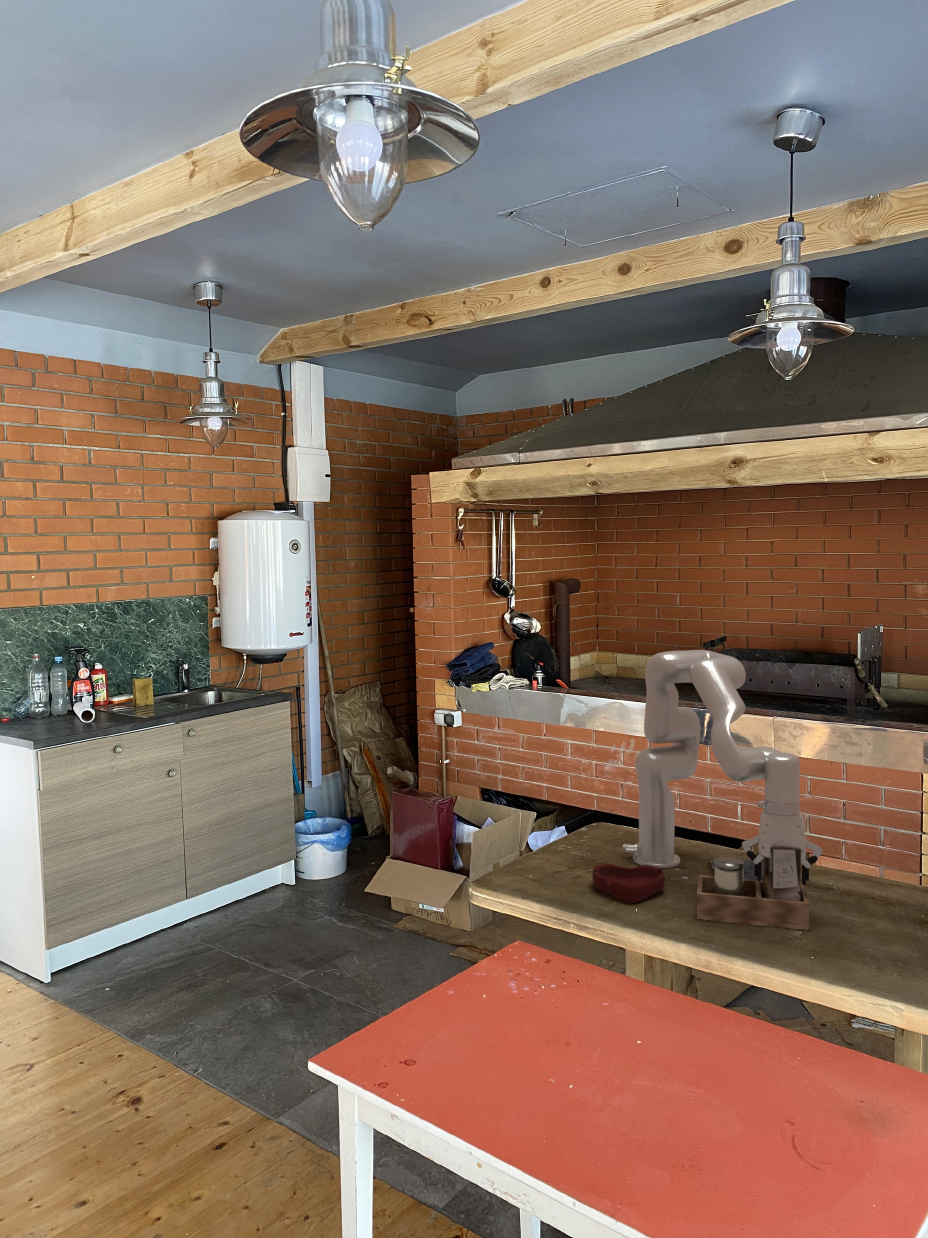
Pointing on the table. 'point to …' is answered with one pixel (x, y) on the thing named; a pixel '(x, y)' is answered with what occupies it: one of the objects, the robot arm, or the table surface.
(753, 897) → the caddy
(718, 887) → the tea tin
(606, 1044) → the table surface
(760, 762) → the robot arm
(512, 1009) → the table surface
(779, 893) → the coffee box
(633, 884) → the ashtray
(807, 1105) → the table surface
